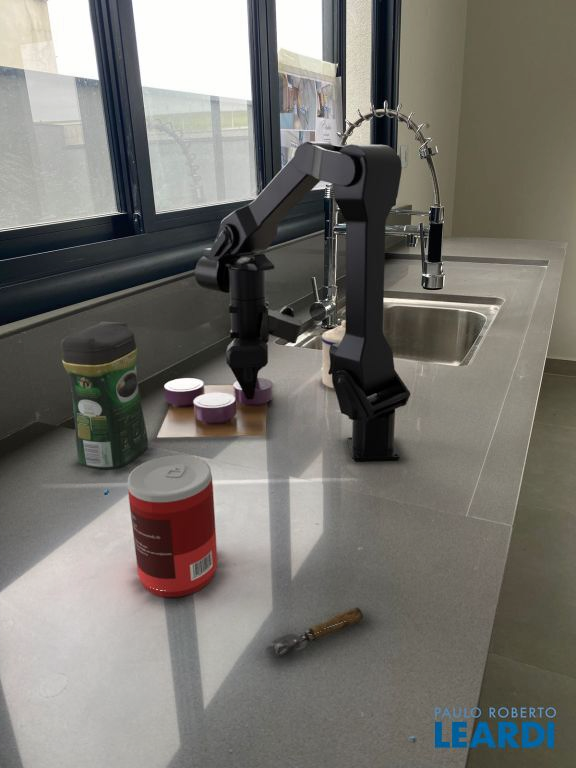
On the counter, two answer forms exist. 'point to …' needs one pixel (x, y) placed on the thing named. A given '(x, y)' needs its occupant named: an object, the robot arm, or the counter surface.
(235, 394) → the purple puck
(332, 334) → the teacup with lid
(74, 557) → the counter surface
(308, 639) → the can opener
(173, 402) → the purple hockey puck
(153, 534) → the canned food
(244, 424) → the placemat
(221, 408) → the plum dish bottom
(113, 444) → the coffee jar
